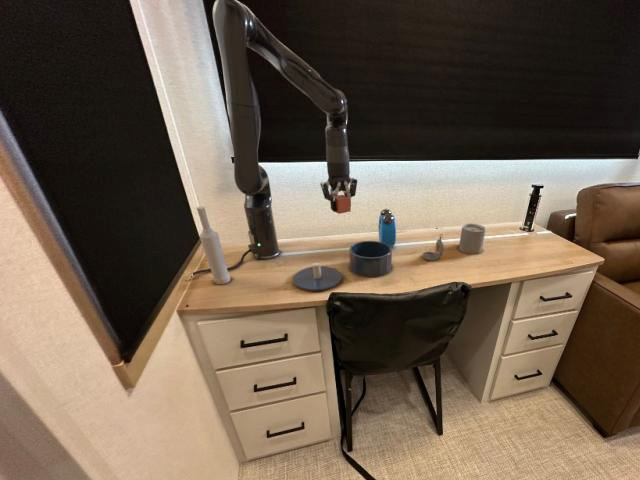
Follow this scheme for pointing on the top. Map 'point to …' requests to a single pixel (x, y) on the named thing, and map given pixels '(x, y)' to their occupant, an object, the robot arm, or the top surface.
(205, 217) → the bottle
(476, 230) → the grey cylinder
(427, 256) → the pocket watch
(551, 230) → the top surface
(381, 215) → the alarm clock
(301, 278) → the lid
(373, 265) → the bowl
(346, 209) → the block
